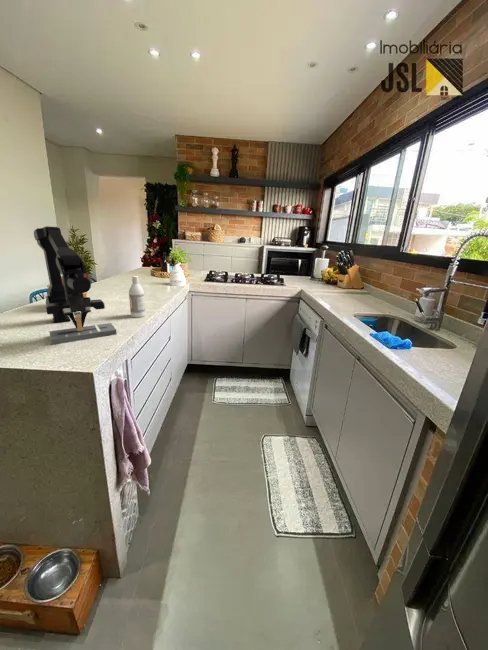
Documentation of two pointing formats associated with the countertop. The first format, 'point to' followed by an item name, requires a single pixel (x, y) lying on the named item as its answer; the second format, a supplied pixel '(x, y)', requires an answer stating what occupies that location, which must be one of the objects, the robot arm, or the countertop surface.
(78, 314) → the fader tab
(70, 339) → the console
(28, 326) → the countertop surface
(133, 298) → the bath foam
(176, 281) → the honey pot
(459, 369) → the countertop surface
